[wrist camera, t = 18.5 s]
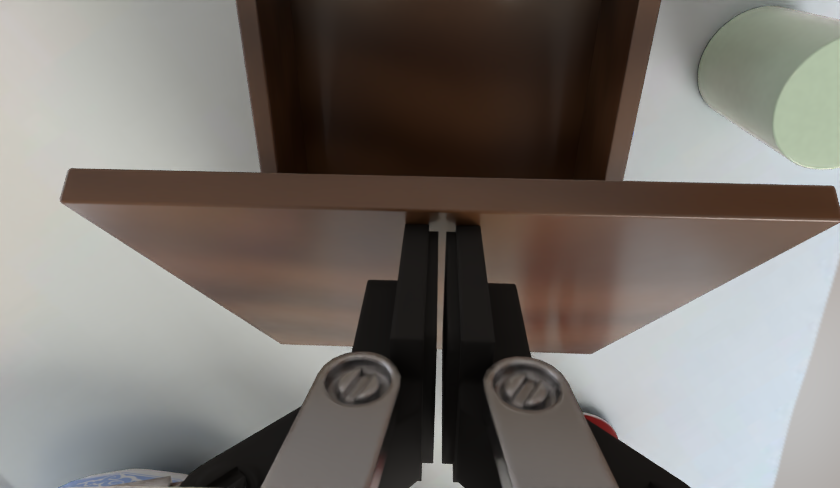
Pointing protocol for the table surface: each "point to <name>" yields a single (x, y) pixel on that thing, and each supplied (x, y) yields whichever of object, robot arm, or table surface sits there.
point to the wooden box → (446, 86)
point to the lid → (444, 210)
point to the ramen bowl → (123, 477)
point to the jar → (778, 81)
